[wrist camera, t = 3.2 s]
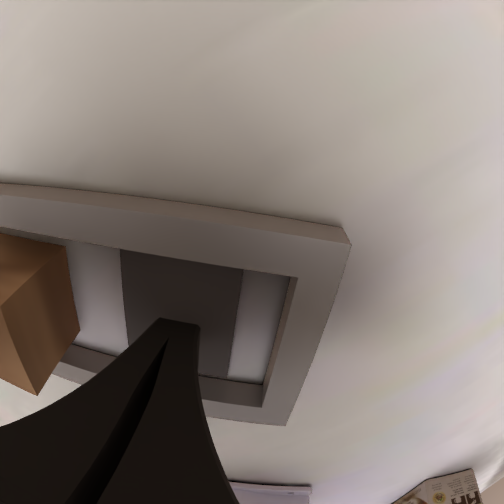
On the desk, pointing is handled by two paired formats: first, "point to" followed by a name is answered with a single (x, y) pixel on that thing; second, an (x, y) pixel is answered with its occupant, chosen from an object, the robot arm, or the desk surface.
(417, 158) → the desk surface
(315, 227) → the guide channel
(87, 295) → the desk surface
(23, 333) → the walnut block
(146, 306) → the pad
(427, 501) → the coffee box
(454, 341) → the desk surface
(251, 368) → the desk surface
